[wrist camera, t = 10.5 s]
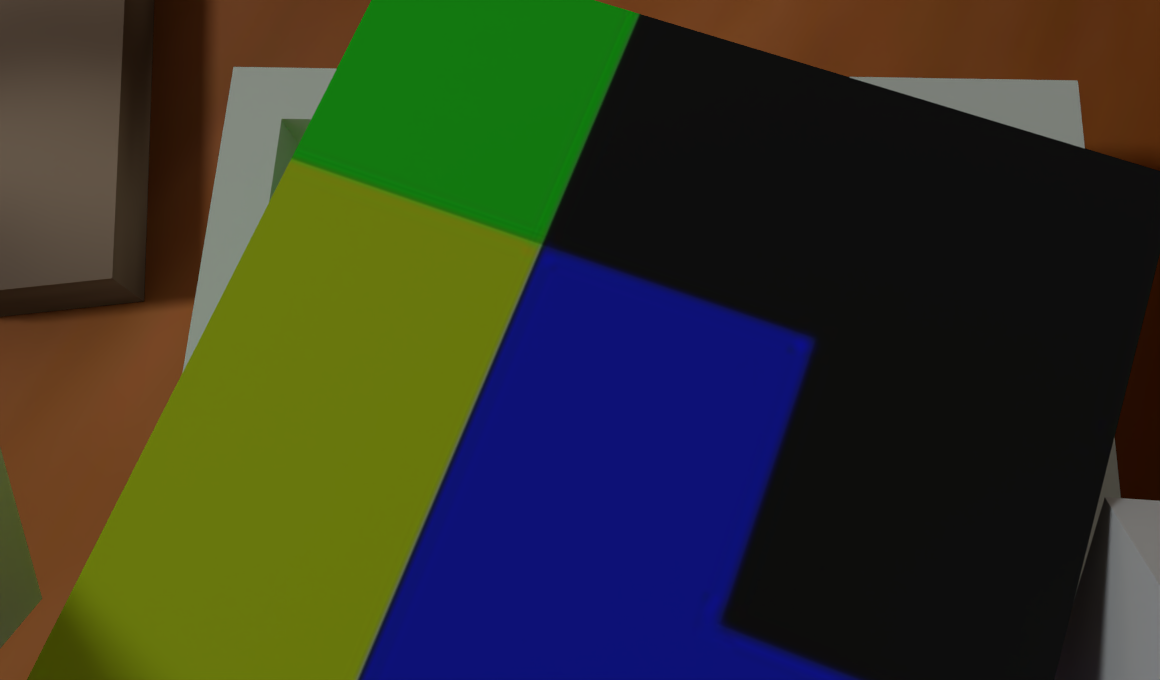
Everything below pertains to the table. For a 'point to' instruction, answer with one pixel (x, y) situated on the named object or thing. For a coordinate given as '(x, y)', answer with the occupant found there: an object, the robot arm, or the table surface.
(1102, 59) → the table surface
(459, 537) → the puzzle toy
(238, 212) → the white square tray
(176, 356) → the table surface
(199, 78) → the table surface
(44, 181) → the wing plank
